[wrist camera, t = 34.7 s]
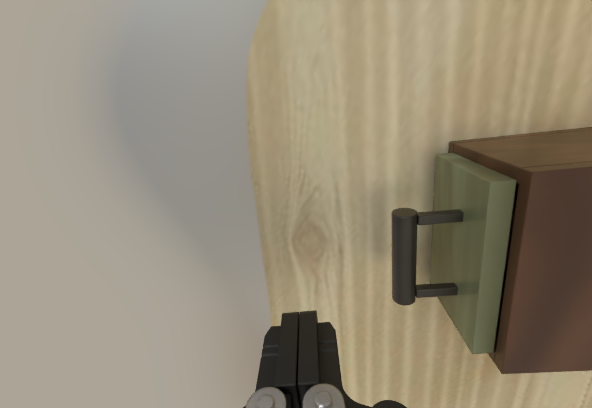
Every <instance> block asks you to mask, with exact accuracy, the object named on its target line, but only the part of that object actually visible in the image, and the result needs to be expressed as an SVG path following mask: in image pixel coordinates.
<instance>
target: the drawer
mask: <svg viewBox="0 0 592 408" xmlns="http://www.w3.org/2000/svg"><path fill="white" fill-rule="evenodd" d="M516 182H517V181H516V180H515V179H513V178H510V177H508V176H506V175H503V174H501V173H499V172H496V171H494V170H492V169H489V168H487V167H485V166H483V165H480V164H478V163H476V162H473V161H471V160H469V159H466V158H464V157H462V156H459V155H457V154H455V153H447V154H437V155H435V179H434V204H433V211H431V212H419V213H417V211H415V210H413V209H410V208H398V209H395V210H393V211H392V298H393V300H394V301H395V302H396V303H398V304H400V305H411V304H413V303H414V302H415V296H416V297H417V298H420V297H438V299H439V300H440V302H441V304H442V305H443V307H444V308H445V310H446V312H447V313H448V315H449V317H450V318H451V320H452V321H453V323H454V325H455V326H456V328H457V330H458V331H459V333H460V335H461V336H462V338H463V339H464V341H465V343H466V344H467V346H468V348H469V349H470V351H471V353H472V354H481V353H493V352H494V345H495V337H496V330H497V323H498V317H499V318H501V310H502V303H503V296H504V289H505V281H506V274H505V273H504V271H505V263H506V256H507V248H508V241H509V234H510V226H511V219H512V211H513V204H514V196H516V195H517V194H518V187H519V184H517V183H516ZM417 224H418V225H428V224H433V228H432V252H431V277H430V284H422V285H416V251H417Z"/></svg>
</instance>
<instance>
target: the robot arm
mask: <svg viewBox="0 0 592 408" xmlns="http://www.w3.org/2000/svg"><path fill="white" fill-rule="evenodd" d="M243 408H406V407H405V406H404V405H402V404H401V403H399V402H396V401H392V400H384V401H380V402H378V403H377V404H375V405H374V406H373V407H369V406H365V405H362V404H359V403H357V402H355V401H353V400H352V399H351V398H349V397H348V395H347V394H346V393H345V391H344V389H343V387H342V381H341V373H340V364H339V356H338V348H337V339H336V331H335V329H334V328H333V326H332V325H331V323H330V322H324V323H318V318H317V311H304V312H300V314H299V312H292V313H283V314H282V320H281V326H273V327H271V328H270V329H269V331H268V332H267V334H266V335H265V338H264V344H263V350H262V357H261V362H260V368H259V374H258V379H257V385H256V390H255V393H254V394H253V395H252V396H251V397H250V399H249V400H248V402H247V404H246V406H245V407H243Z"/></svg>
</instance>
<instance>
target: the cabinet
mask: <svg viewBox="0 0 592 408" xmlns="http://www.w3.org/2000/svg"><path fill="white" fill-rule="evenodd" d="M448 153H455V154H457V155H459V156H462V157H464V158H466V159H469V160H471V161H473V162H476V163H478V164H480V165H483V166H485V167H487V168H489V169H492V170H494V171H496V172H499V173H501V174H503V175H506V176H508V177H510V178H513V179H515V180H516V181H517V182H516V183H517V184H519V187H518V194H517V202H516V209H515V216H514V223H513V231H512V238H511V245H510V252H509V260H508V267H507V274H506V281H505V289H504V296H503V303H502V310H501V318H499V317H498V323H497V330H496V337H495V345H494V352H493V353H488V354H489V356H490V357H491V359H492V360H493V362H494V363H495V364H496V366H497V367H498V369H499V370H500V372H501V373H502V374H513V373H538V372H563V371H587V370H592V127H589V128H579V129H569V130H559V131H549V132H540V133H530V134H520V135H510V136H501V137H491V138H481V139H471V140H462V141H452V142H449V152H448Z"/></svg>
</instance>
